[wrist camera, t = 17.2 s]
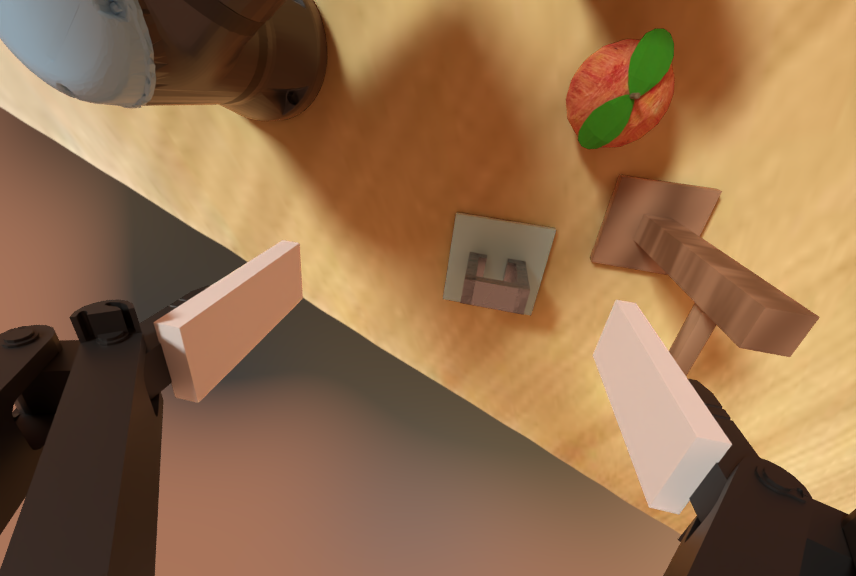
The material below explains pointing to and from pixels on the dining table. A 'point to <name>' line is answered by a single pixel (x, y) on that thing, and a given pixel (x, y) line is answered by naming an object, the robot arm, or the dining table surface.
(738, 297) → the stand
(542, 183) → the dining table surface
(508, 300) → the c link
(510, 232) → the coaster
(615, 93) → the fruit
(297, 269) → the robot arm
